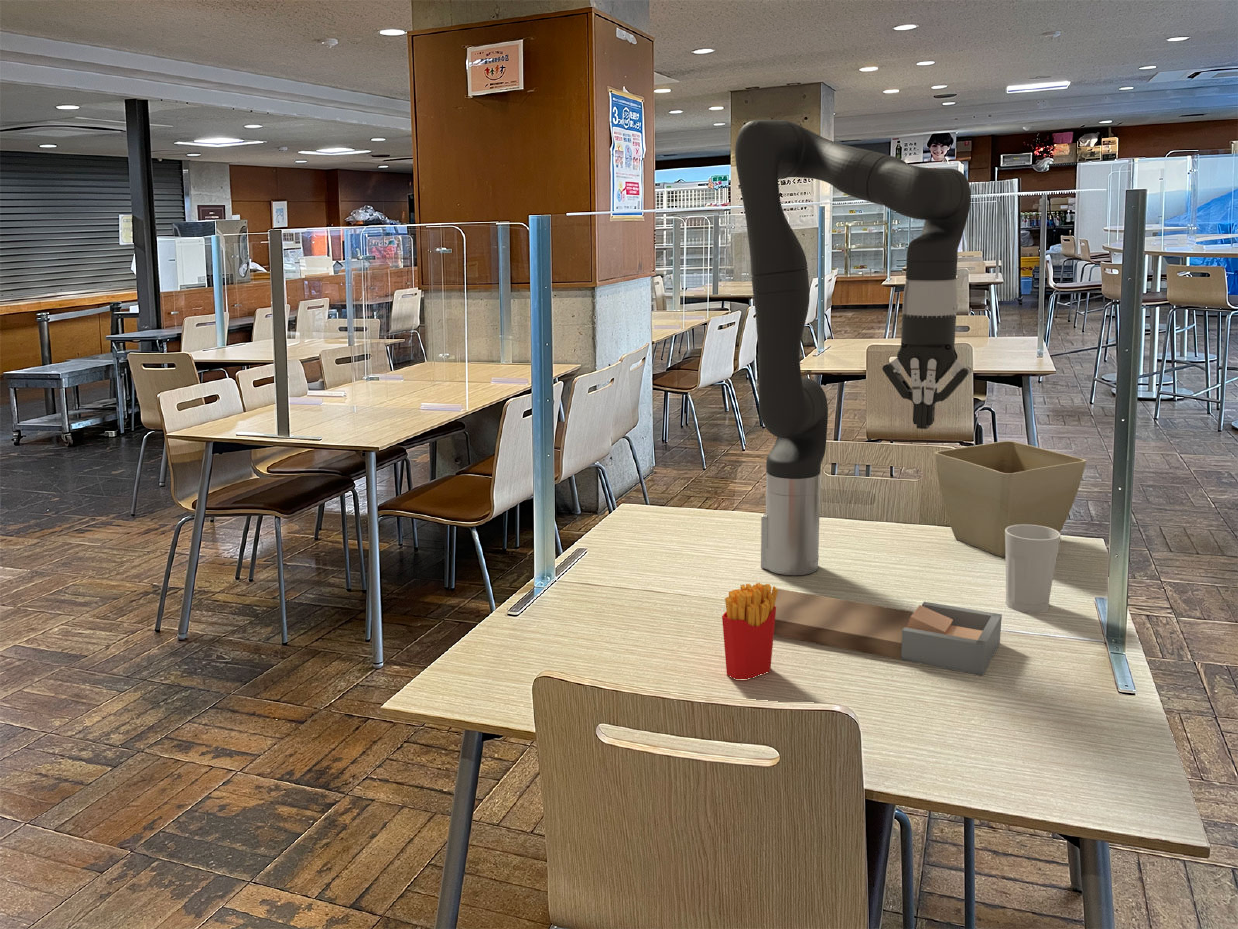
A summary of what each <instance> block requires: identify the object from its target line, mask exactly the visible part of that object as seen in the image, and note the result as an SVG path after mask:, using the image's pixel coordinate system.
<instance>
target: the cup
mask: <svg viewBox="0 0 1238 929" xmlns="http://www.w3.org/2000/svg"><path fill="white" fill-rule="evenodd" d="M1060 541H1061V532H1060V533H1059V532H1058V531H1057V530H1054V529H1052V528H1048V527H1044V526H1038V525H1013V526H1009V527H1007V528H1006V529H1005V549H1006V556H1005V605H1006V607H1007V608H1010V609H1012V610H1015V611H1017V612H1021V613H1023V612H1024V613H1031V614H1035V613H1037V614H1038V613H1039V614H1040V613H1044V612H1046V611H1048V610H1049V606H1050V597H1051V592H1052V586H1053V580H1054V575H1055V569H1056V562H1057V557H1058V552H1059V546H1060Z"/></svg>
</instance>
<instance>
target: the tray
mask: <svg viewBox="0 0 1238 929" xmlns="http://www.w3.org/2000/svg"><path fill="white" fill-rule="evenodd" d="M921 606H923V607H926V608H928V609H930V610H932V611H935V612H937V613H939V614H941V615H944V616H946V617H948V618H951V619H953V622H952V624H951V625H953V626H958V627H964V628H970V629H975V630H981V631H982V633H981V635H980V637H979V638H978V640H973V639H968V638H962V637H957V636H951V635H946V634H940V633H934V632H929V631H923V630H918V629H912V628H907V627H904V629H903V630H902V646H901V661H906V662H910V663H915V664H916V663H917V664H921V665H925V666H926V665H927V666H931V667H936V668H942V669H945V670H952V671H956V672H962V673H967V674H972V675H978V676H984V674H985V672H986V671H987V669H988V667H989V665H990V663H991V661H992V659H993V657H994V655H995V653H996V652H997V649H998V648H999V645H1000V643H1001V631H1002V616H1003V614H1002V613H995V612H991V611H990V612H989V611H985V610H984V611H983V610H978V609H977V610H976V609H971V608H965V607H959V606H953V605H947V604H943V603H942V604H940V603H936V602H929V601H923V602H922V604H921Z"/></svg>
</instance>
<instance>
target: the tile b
mask: <svg viewBox="0 0 1238 929" xmlns="http://www.w3.org/2000/svg"><path fill="white" fill-rule="evenodd" d="M981 633H982V631H981V630H975V629H970V628H964V627H958V626H953V625H951V626H950V627H949V629H948V630H947V632H946V633H945V634H946V635H951V636H957V637H962V638H968V639H973V640H978V638H979V637H980V635H981Z"/></svg>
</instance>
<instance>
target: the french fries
mask: <svg viewBox="0 0 1238 929" xmlns="http://www.w3.org/2000/svg"><path fill="white" fill-rule="evenodd" d="M778 589H779V588H777V587H776V586H775V585H774V586H771V584H770V583H765V584H762V583H761V582H757V583H755V584H753V585H751V584H750V583H745V584H740V588H738V589H732V590H731V591H728V596H727V597H725V598H724V600H725V601H724V602H725V610H726V611H725V612H724V613H723V614H722V616H721V620H722V631H723V633H722V634H723V645H724V646H723V647H724V654H725V671H726V676H727V675H729V676H731V677H732V678H731V677H730V678H731V679H733V678H735V679H748V678H753V677H755V676H758V675H760V674H764V673H766V672H769V673H770V671H771V666H772V657H773V646H774V636H775V635H774V626H775V615H776V606H774V605H775V601H776V597H777V592H778ZM764 675H765V674H764ZM729 676H728V677H729ZM753 679H754V678H753Z"/></svg>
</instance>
